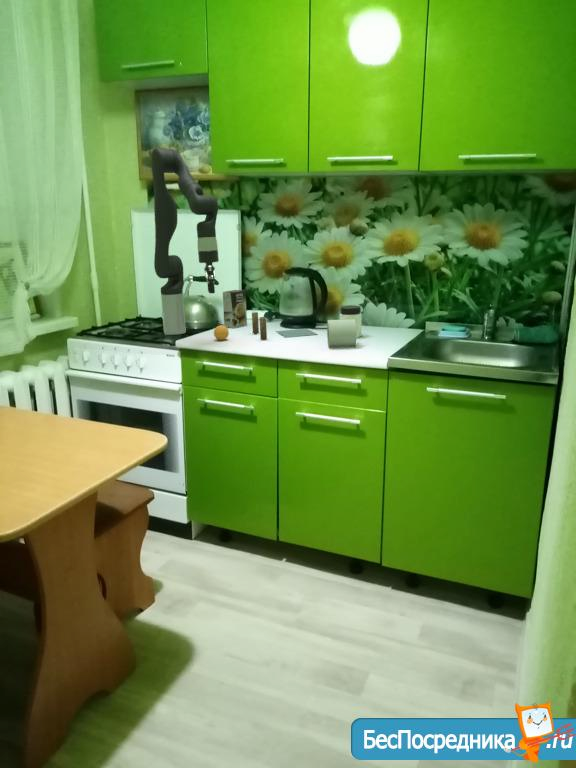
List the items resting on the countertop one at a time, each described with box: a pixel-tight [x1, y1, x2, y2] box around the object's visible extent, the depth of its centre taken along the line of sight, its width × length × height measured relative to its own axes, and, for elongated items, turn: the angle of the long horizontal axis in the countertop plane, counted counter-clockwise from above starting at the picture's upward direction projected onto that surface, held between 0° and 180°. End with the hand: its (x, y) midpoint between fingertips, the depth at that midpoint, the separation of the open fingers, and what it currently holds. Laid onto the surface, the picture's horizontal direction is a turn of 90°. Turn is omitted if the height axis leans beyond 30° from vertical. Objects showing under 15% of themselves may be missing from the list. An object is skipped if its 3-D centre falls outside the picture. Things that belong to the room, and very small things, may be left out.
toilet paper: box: [326, 319, 357, 348], centre depth 223 cm, size 10×10×10 cm
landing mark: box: [275, 328, 318, 338], centre depth 251 cm, size 14×14×1 cm
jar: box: [339, 304, 362, 339], centre depth 239 cm, size 9×8×12 cm
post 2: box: [259, 316, 268, 341], centre depth 239 cm, size 3×3×9 cm
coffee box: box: [222, 289, 248, 329], centre depth 269 cm, size 9×6×16 cm
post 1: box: [251, 311, 260, 335], centre depth 251 cm, size 3×3×9 cm
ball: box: [213, 324, 230, 341], centre depth 241 cm, size 6×6×6 cm
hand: (211, 292), depth 230 cm, fingers open, 8 cm apart
